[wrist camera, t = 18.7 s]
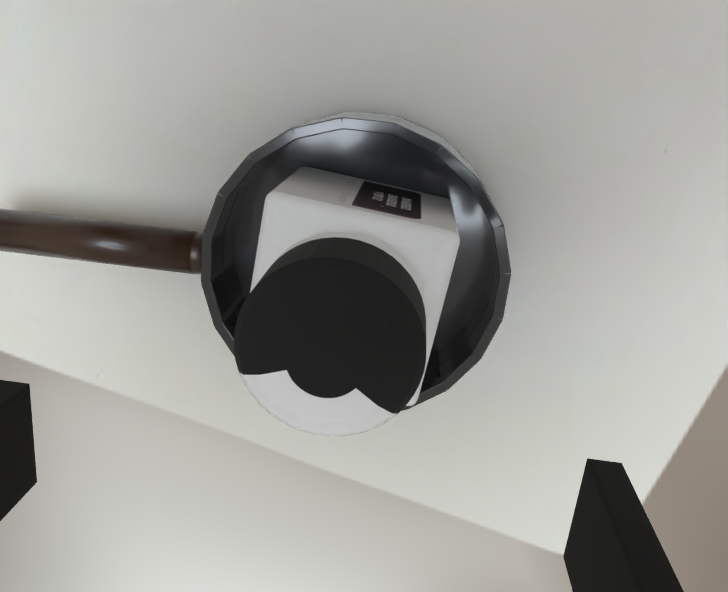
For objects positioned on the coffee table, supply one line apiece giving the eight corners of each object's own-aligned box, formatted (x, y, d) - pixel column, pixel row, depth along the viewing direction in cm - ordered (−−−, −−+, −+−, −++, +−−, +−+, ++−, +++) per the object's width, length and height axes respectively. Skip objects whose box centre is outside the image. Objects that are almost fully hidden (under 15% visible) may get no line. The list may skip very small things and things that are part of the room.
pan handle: (224, 230, 32) (212, 240, 30) (223, 269, 33) (211, 282, 31) (-17, 202, 33) (-44, 210, 31) (-14, 241, 33) (-40, 251, 32)
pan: (520, 128, 32) (535, 137, 28) (475, 390, 37) (482, 432, 32) (232, 97, 33) (203, 101, 28) (223, 358, 37) (198, 396, 33)
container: (299, 163, 33) (226, 220, 21) (453, 198, 33) (473, 276, 20) (273, 308, 35) (195, 435, 23) (416, 340, 35) (414, 485, 23)
